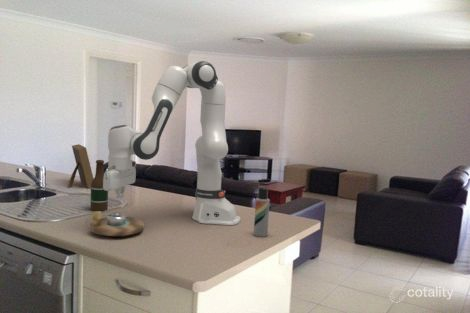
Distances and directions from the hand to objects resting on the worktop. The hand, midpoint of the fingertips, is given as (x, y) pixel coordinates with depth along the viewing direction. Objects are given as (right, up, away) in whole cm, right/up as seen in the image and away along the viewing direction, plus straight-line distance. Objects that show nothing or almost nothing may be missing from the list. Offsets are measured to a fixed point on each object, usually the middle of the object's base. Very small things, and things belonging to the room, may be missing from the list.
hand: (120, 197), depth 163 cm
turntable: (+1, -11, -8) cm, 14 cm away
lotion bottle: (+58, -16, -2) cm, 60 cm away
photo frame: (-49, -1, +80) cm, 94 cm away
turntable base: (+1, -13, -8) cm, 15 cm away
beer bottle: (-17, -9, +24) cm, 31 cm away
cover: (+1, -9, -9) cm, 13 cm away
